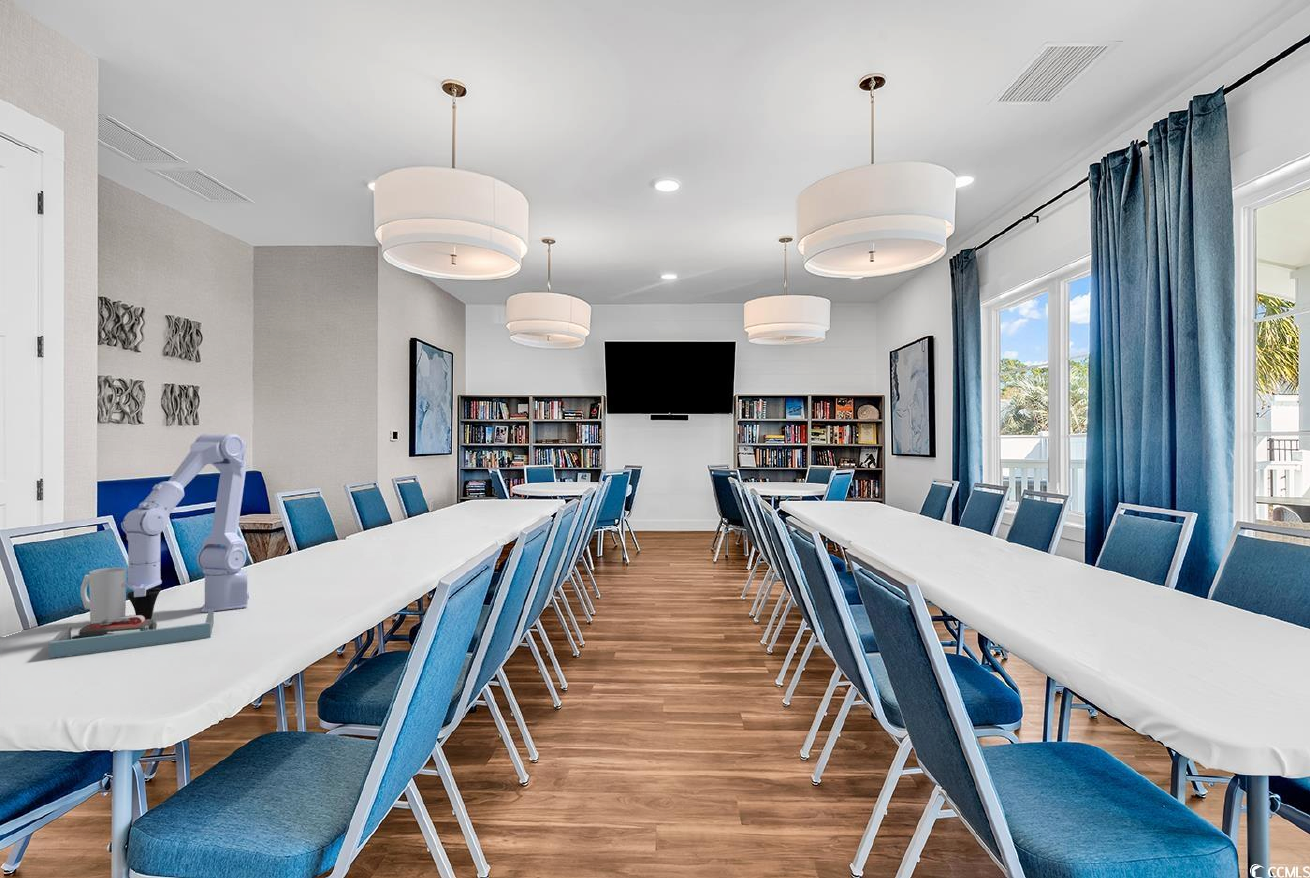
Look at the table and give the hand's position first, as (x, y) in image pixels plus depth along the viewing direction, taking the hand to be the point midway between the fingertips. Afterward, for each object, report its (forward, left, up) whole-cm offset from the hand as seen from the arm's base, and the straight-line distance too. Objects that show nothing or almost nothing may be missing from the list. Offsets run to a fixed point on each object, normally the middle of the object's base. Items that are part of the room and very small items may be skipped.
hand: (144, 622), depth 147 cm
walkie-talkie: (+1, +5, -2) cm, 6 cm away
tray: (0, +9, -1) cm, 9 cm away
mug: (+9, -13, -2) cm, 17 cm away
